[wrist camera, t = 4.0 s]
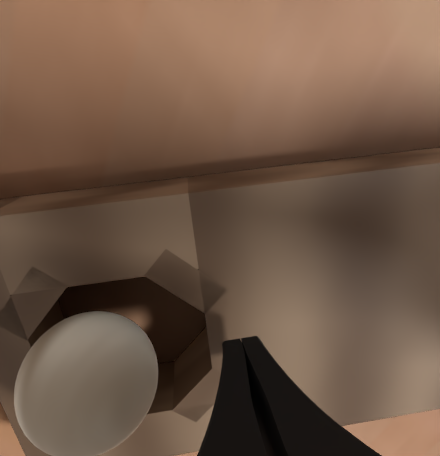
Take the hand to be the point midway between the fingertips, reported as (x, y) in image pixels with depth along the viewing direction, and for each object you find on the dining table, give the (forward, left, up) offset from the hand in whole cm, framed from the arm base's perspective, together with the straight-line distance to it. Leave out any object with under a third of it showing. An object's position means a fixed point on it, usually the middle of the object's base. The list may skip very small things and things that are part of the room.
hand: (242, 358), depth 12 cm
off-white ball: (+5, +3, 0) cm, 6 cm away
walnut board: (-1, -1, -4) cm, 4 cm away
